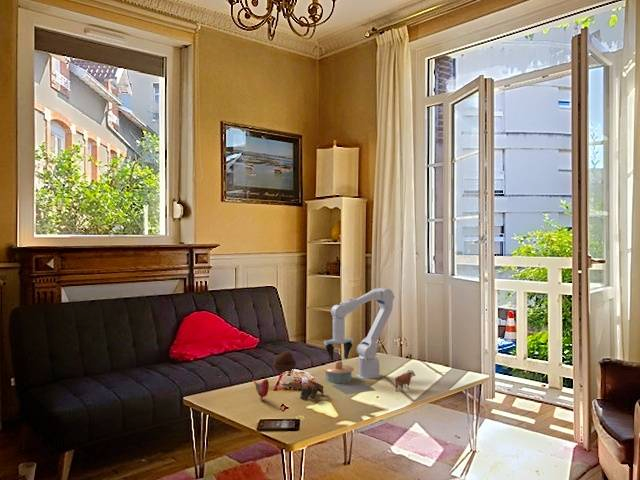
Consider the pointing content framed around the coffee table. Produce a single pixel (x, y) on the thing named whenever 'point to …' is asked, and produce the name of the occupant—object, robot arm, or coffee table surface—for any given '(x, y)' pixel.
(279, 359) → the dark brown rounded lump
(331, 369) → the lid
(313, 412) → the coffee table surface
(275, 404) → the coffee table surface
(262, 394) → the decorative bird figurine
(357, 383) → the mat
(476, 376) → the coffee table surface
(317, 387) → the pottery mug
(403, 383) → the bull figurine
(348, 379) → the bowl
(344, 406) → the coffee table surface
